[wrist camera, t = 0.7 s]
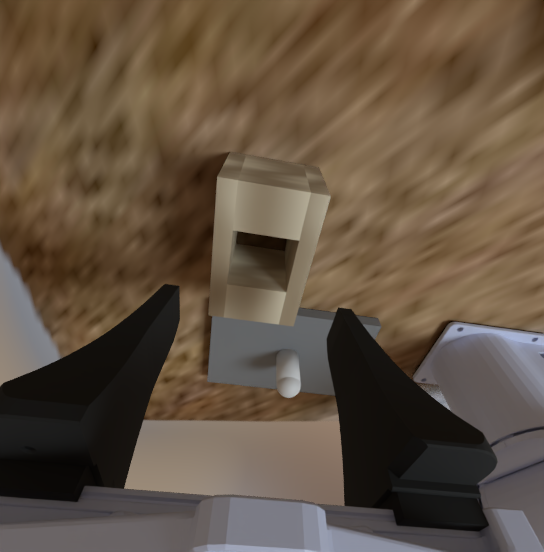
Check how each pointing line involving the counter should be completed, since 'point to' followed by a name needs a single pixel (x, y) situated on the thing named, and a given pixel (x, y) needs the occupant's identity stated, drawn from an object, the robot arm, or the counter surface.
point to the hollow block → (270, 222)
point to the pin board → (276, 353)
